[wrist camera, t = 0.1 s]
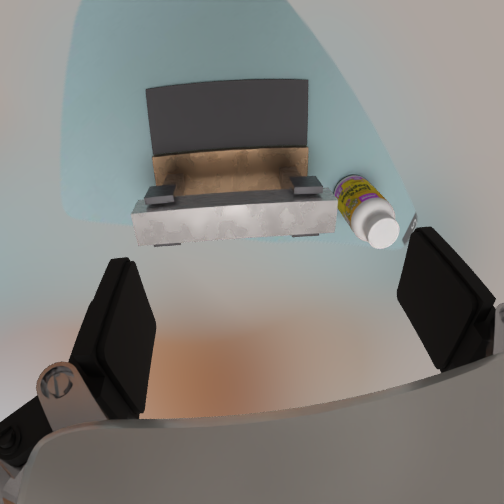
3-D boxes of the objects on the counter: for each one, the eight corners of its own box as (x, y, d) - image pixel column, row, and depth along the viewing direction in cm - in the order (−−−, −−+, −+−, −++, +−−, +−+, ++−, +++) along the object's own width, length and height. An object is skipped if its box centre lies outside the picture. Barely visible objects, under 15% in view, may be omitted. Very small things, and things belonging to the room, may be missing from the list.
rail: (138, 199, 35) (131, 214, 32) (328, 187, 36) (338, 200, 33) (144, 230, 37) (138, 245, 34) (325, 217, 38) (334, 232, 35)
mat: (146, 89, 38) (145, 89, 37) (307, 79, 39) (308, 80, 38) (153, 153, 43) (153, 154, 42) (305, 143, 44) (306, 144, 44)
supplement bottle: (359, 166, 47) (397, 201, 36) (375, 197, 50) (412, 238, 40) (324, 188, 49) (353, 229, 38) (342, 218, 52) (371, 263, 41)
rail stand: (154, 154, 43) (130, 191, 32) (305, 145, 44) (335, 178, 33) (161, 203, 48) (144, 254, 36) (303, 194, 49) (329, 241, 38)
